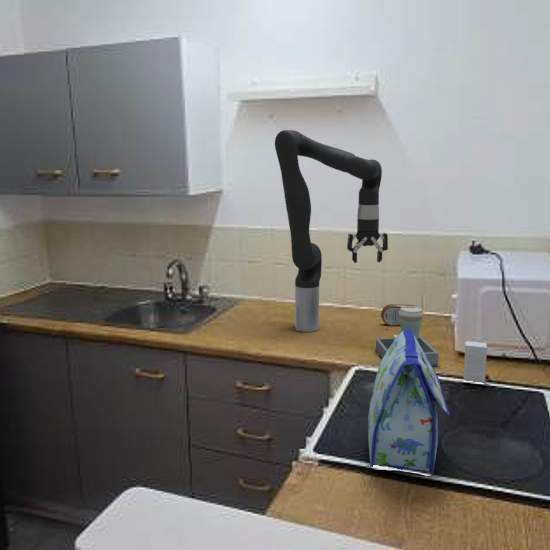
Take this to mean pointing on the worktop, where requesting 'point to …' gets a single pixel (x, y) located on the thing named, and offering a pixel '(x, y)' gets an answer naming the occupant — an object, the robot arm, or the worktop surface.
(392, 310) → the tin
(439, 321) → the worktop surface
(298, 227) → the robot arm
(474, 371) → the skincare box
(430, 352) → the large crate
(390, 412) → the lunch bag
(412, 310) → the coffee cup
